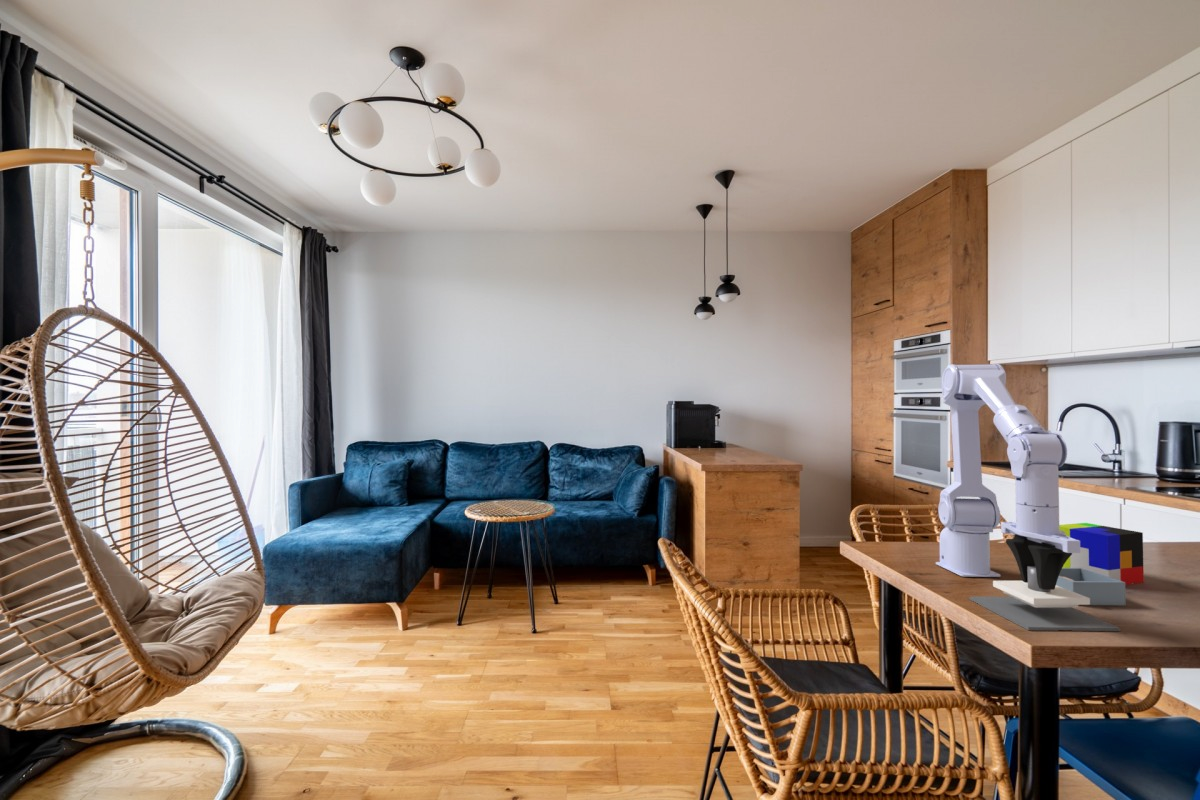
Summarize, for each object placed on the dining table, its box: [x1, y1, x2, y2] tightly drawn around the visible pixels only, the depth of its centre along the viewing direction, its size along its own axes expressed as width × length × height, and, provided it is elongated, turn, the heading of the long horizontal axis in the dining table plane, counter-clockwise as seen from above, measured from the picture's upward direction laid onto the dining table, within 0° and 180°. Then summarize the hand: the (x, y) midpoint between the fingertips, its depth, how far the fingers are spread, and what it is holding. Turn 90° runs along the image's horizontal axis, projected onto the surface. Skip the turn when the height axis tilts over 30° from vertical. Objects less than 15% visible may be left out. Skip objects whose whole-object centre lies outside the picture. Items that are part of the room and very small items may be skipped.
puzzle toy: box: [1059, 522, 1145, 586], centre depth 112 cm, size 10×10×10 cm
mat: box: [968, 596, 1121, 632], centre depth 91 cm, size 14×14×1 cm
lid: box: [992, 566, 1091, 608], centre depth 92 cm, size 9×9×5 cm
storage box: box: [1056, 568, 1127, 606], centre depth 100 cm, size 9×9×4 cm
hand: (1038, 585), depth 92 cm, fingers closed on lid, 3 cm apart
